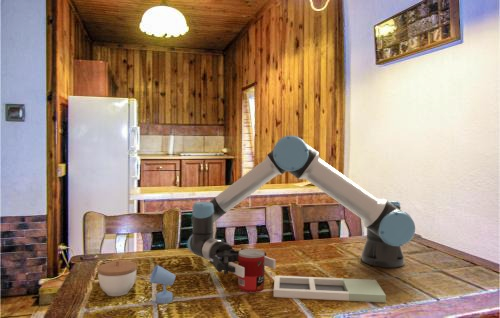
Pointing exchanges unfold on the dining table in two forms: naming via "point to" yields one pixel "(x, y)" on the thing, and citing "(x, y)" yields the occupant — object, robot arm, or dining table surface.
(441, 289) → the dining table surface
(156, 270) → the spotlight
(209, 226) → the robot arm
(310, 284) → the board
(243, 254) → the canned food
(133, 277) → the lidded jar
